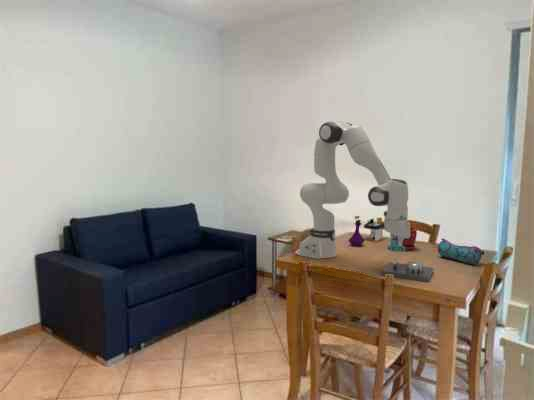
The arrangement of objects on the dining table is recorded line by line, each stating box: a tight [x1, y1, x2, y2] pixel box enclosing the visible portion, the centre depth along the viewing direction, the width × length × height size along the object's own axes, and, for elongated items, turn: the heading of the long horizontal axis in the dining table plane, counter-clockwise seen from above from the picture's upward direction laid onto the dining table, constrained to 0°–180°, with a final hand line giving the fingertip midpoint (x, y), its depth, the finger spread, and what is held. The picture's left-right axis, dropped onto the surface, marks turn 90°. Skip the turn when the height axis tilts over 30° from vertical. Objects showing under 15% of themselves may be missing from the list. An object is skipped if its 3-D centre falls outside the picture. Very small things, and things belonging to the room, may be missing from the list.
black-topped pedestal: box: [363, 217, 385, 242], centre depth 251 cm, size 28×26×13 cm
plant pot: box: [395, 226, 418, 251], centre depth 227 cm, size 13×13×12 cm
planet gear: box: [386, 238, 406, 253], centre depth 182 cm, size 8×8×5 cm
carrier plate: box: [380, 258, 434, 283], centre depth 181 cm, size 20×16×6 cm
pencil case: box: [437, 238, 485, 266], centre depth 201 cm, size 21×9×10 cm, turn 31°
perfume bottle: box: [348, 215, 365, 247], centre depth 234 cm, size 8×8×18 cm
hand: (396, 244), depth 182 cm, fingers closed on planet gear, 5 cm apart
